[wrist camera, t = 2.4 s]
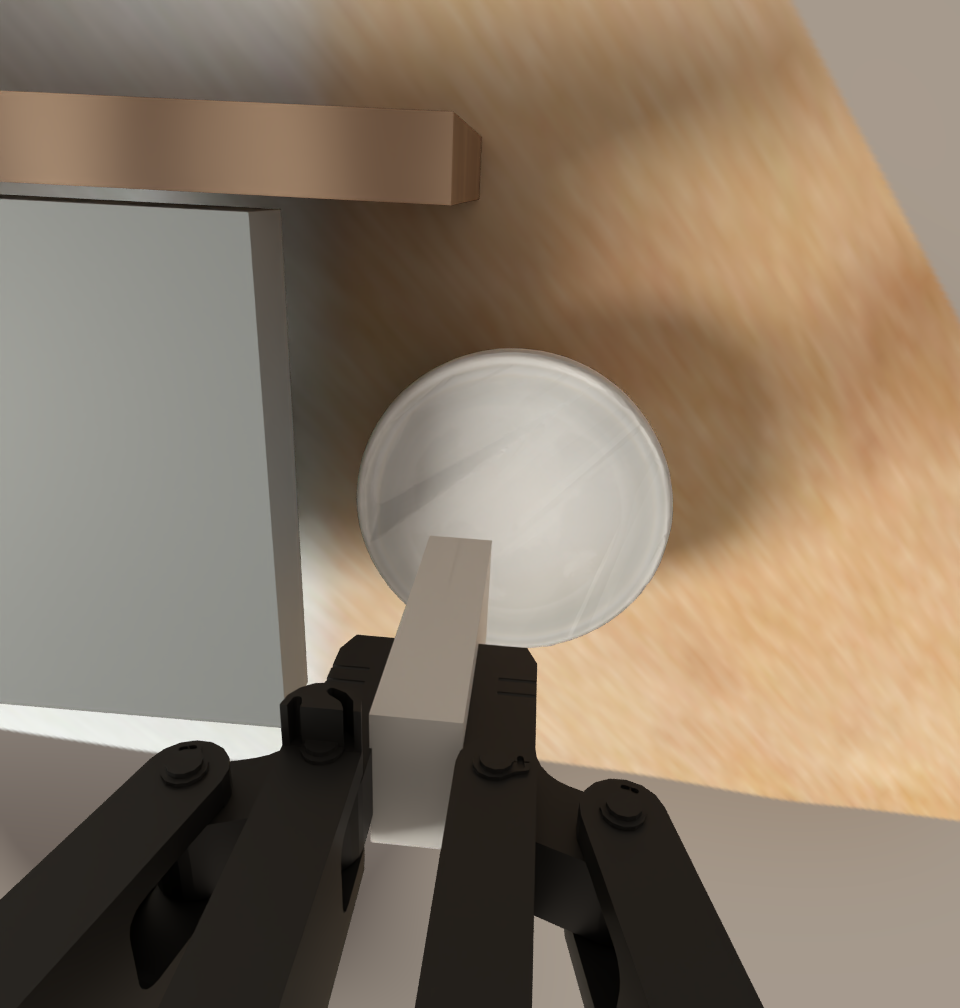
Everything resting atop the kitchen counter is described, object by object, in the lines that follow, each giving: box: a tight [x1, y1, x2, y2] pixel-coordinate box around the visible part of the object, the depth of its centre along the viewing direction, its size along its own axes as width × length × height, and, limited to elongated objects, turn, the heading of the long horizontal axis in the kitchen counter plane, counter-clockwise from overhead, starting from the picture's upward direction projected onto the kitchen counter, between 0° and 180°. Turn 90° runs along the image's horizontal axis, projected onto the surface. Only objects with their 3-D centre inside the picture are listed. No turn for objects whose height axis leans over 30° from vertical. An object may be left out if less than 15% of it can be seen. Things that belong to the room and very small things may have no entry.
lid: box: [0, 194, 308, 728], centre depth 23 cm, size 12×16×2 cm
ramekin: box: [356, 348, 673, 648], centre depth 28 cm, size 11×11×5 cm
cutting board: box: [0, 91, 482, 205], centre depth 22 cm, size 28×2×10 cm, turn 87°
